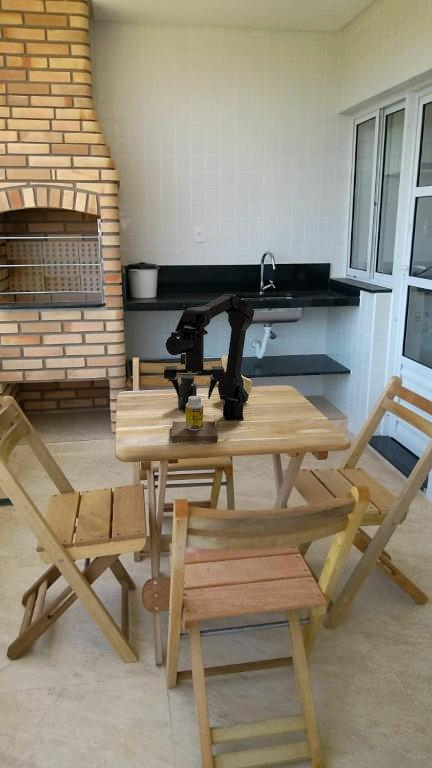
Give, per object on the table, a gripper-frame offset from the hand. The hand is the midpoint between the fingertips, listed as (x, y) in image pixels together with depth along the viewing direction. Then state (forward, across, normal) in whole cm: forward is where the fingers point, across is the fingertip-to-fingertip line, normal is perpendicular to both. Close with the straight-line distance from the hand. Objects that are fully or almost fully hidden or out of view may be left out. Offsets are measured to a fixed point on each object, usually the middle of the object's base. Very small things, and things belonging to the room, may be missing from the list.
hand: (194, 399), depth 185 cm
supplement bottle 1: (+12, +2, -28) cm, 31 cm away
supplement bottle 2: (+10, 0, 0) cm, 10 cm away
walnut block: (+12, 0, 0) cm, 12 cm away
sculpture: (+12, -16, -36) cm, 41 cm away
